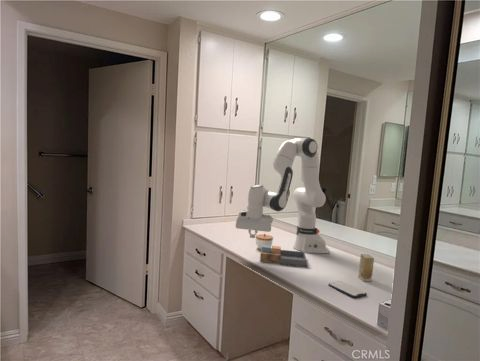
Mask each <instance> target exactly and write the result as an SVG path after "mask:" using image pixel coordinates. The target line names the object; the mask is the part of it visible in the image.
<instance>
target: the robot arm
mask: <svg viewBox="0 0 480 361" xmlns="http://www.w3.org/2000/svg"><path fill="white" fill-rule="evenodd" d="M274 156H275V157H274V159H273V162H272V166H273V169H274V170H275V171H276V172H277V173H278V174H279V175H280V177H281V178H280V182H279V186H278V190H277V191H275V192H274V191H270V190H268V189H267V188H266V187H264V185H263V184H254V185H251V186H250V188H249V191H248V196H247V202H248V205H247V207H246V209H244V210H240V211H239V212H238V216H237V218H236V221H235V229H239V230H247V231H248V234H249V238H251V239H256V235H258V232H265V233H266V232H267V233H271V231H272V223H273V220H274V218H273V216H271V215H270V214H263V212H264V208H265V209H266V208H267V209H271V210H272V211H275V212H281V211H283V210H284V209H285V208H286V206H287V204H288V195H289V192H290V188H291V184H292V180H293V175H294V174H293V173H294V172H293V164H294V162H295V158H296V156H297V157H300V158H301V159H300V181H301V182H302V184H303V187H296V189H294V191H293V194H292V197H293V200H294V201H295V202H296V208H297V213H298V214H297V215H298V216H297V225H296V228H295V229H296V231H295V232H296V233H295V234H296V236H295V239H294V240H295V241H294V244H293V249H295V250H297V251H299V252H305V254H306V253H307V254H308V253H310V254H329V253H330V248H329V247H327V243H326V241H325V239H324V238H323V237H322V236H321V235H320V234H319V233H321V232H320V229H318V227H316V224H317V223H316V222H317V221H316V220H317V215H316V213H315V211H314V208H320V207H321V208H322V207H323V206H324V204H326V200H327V198H326V194H325V193H324V192H323V190H322V188H321V184H320V179H319V178H320V177H319V153H318V143H317V141H316V140H315V139H314V138H310V137H297V138H294V137H293V138H289V139H288V140H286V141H284V142H282V144H281V145H280V147H279V148H278V150H277V152H276V154H275V155H274ZM252 231H254V234H253V233H252Z"/></svg>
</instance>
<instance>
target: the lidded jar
mask: <svg viewBox="0 0 480 361" xmlns="http://www.w3.org/2000/svg"><path fill="white" fill-rule="evenodd" d="M273 240H274V236H272V235H270V234H266V233H262V234H256V235H255V245H256V247H257V248H258V249H259V250H261V248H262V245H270V246H271V247H272V246H273Z"/></svg>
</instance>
